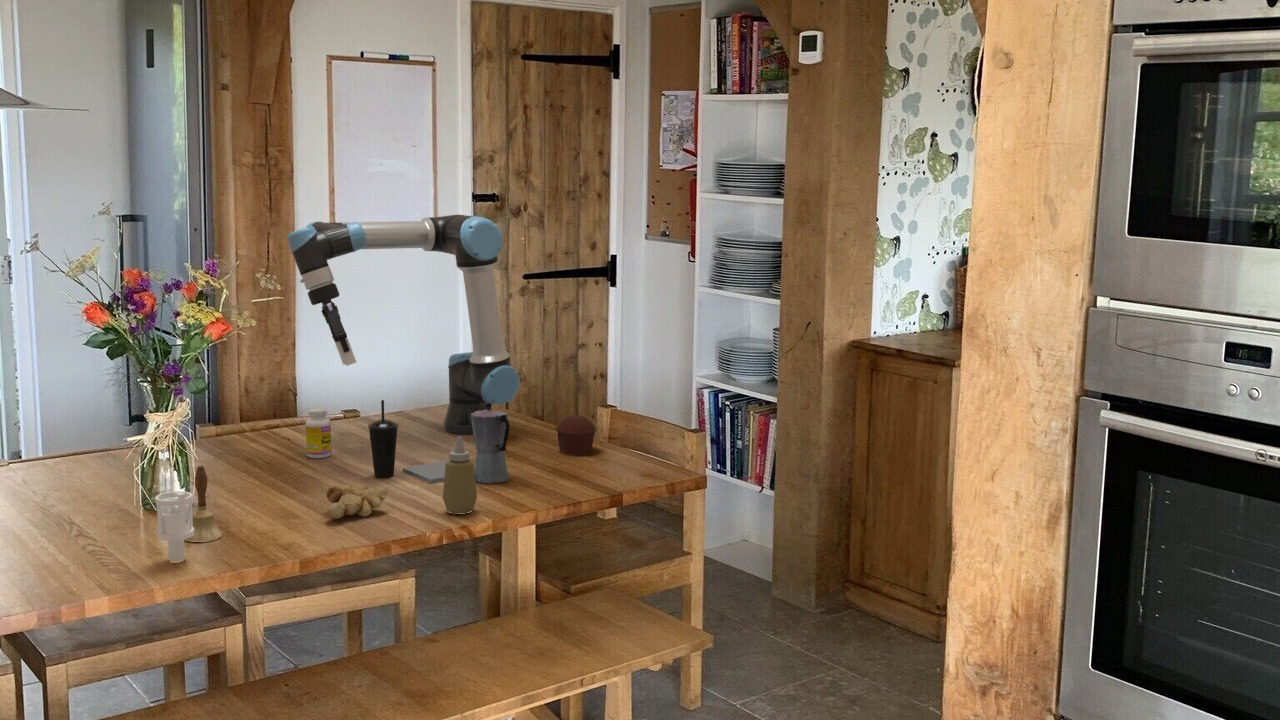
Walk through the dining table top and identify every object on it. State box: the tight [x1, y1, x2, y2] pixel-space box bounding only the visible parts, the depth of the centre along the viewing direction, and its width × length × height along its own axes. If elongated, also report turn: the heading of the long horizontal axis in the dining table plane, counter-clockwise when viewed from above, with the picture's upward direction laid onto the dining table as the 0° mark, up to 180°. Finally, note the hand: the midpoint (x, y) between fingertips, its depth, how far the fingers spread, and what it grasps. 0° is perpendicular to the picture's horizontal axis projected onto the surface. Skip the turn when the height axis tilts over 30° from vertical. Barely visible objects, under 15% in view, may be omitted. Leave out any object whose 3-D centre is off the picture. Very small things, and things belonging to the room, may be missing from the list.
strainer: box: [154, 490, 194, 561], centre depth 256 cm, size 7×7×15 cm
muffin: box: [555, 414, 597, 456], centre depth 350 cm, size 12×11×10 cm
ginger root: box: [323, 483, 388, 519], centre depth 291 cm, size 16×16×8 cm
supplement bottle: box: [305, 407, 332, 459], centre depth 340 cm, size 7×7×13 cm
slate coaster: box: [402, 459, 475, 484], centre depth 326 cm, size 14×14×1 cm
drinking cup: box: [367, 399, 399, 480], centre depth 321 cm, size 8×8×20 cm
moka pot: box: [471, 403, 510, 484], centre depth 318 cm, size 10×15×20 cm, turn 45°
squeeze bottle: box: [442, 436, 478, 513], centre depth 292 cm, size 8×8×18 cm
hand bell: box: [186, 465, 223, 541], centre depth 271 cm, size 8×8×16 cm
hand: (349, 363), depth 326 cm, fingers open, 13 cm apart
